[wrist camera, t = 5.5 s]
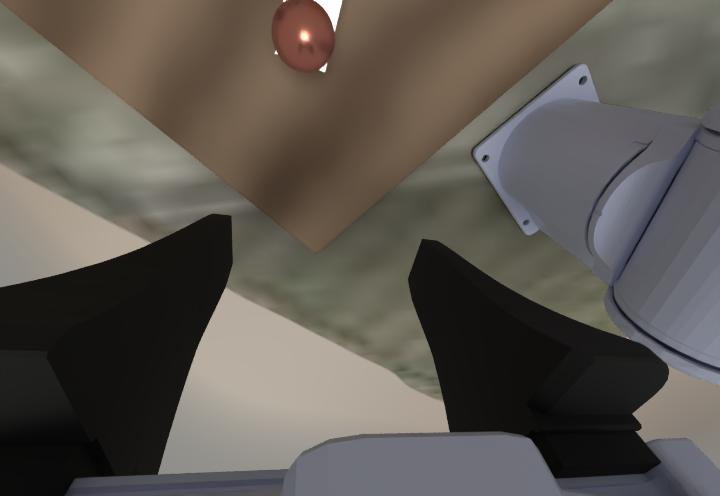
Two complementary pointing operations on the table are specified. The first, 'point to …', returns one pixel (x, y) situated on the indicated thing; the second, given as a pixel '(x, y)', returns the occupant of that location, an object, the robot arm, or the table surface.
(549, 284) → the table surface
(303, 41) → the lever
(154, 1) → the board
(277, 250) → the table surface
